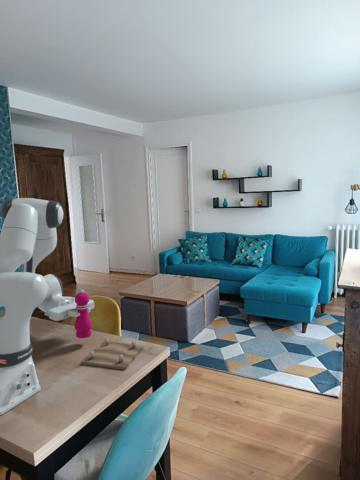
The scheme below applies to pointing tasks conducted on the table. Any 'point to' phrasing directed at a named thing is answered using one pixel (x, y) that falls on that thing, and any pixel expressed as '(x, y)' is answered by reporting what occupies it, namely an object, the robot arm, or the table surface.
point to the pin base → (113, 355)
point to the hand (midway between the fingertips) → (84, 312)
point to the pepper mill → (82, 316)
